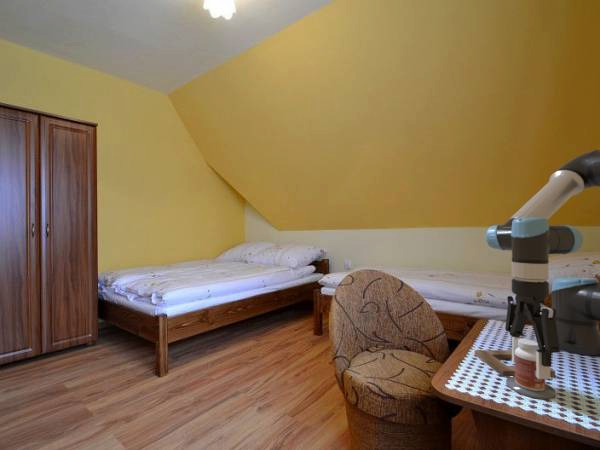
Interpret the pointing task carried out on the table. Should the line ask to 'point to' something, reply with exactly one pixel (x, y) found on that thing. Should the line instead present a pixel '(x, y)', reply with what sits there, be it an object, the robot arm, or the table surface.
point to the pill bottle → (527, 365)
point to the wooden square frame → (492, 360)
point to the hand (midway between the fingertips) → (530, 369)
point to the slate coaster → (544, 394)
